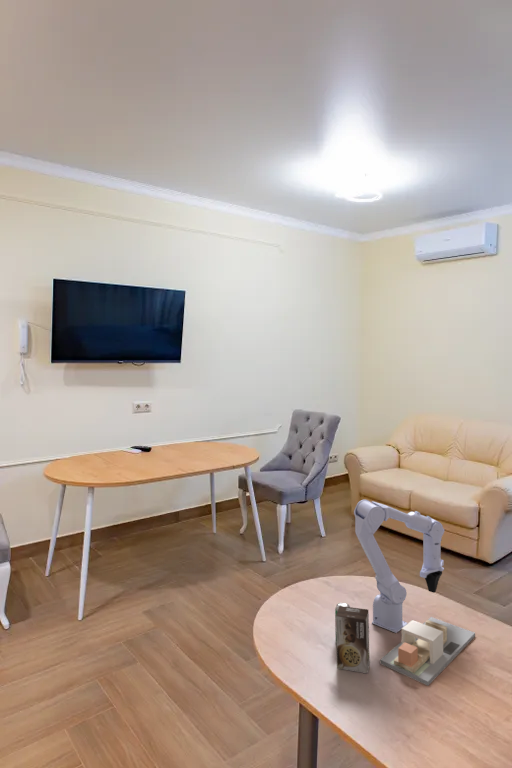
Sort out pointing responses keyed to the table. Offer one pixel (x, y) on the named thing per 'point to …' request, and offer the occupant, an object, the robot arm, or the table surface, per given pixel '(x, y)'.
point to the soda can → (336, 613)
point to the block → (408, 654)
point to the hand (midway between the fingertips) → (432, 591)
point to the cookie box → (352, 639)
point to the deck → (428, 671)
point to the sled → (423, 648)
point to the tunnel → (424, 638)
